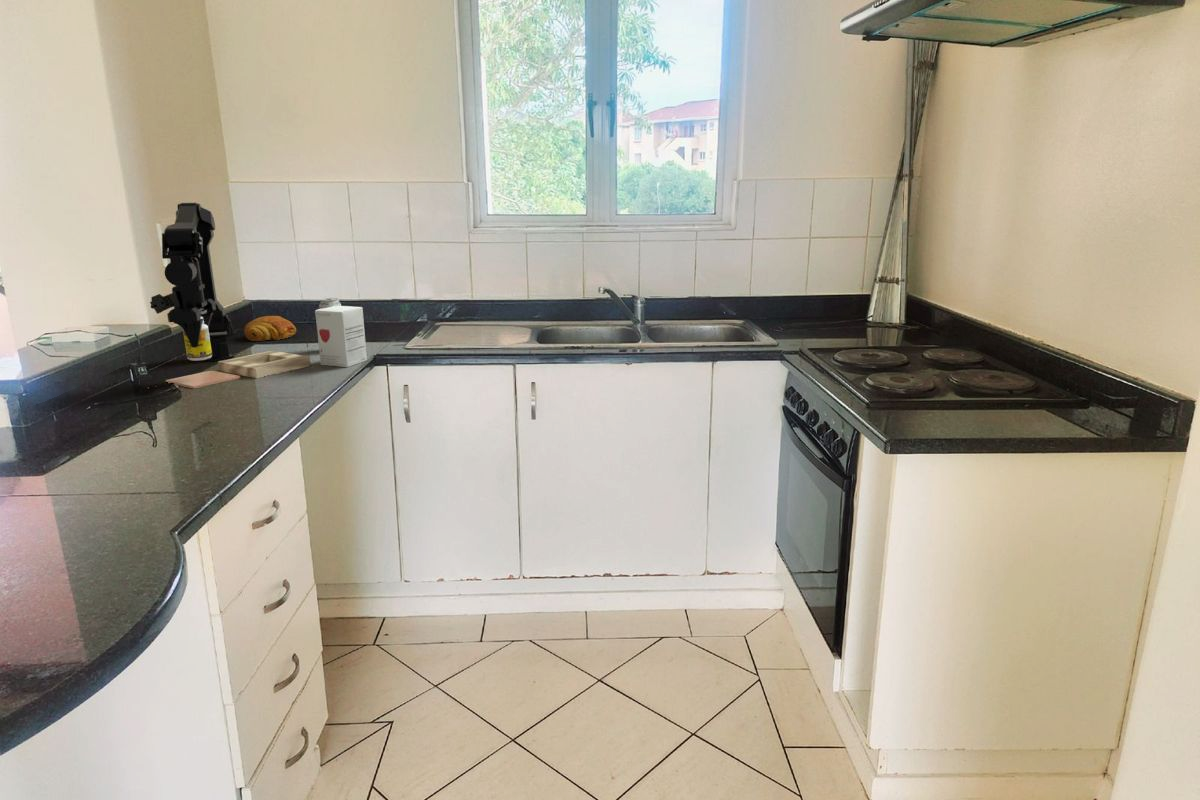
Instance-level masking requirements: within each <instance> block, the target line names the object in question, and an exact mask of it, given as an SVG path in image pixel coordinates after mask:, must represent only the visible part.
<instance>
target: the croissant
mask: <svg viewBox="0 0 1200 800" xmlns="http://www.w3.org/2000/svg"><path fill="white" fill-rule="evenodd" d="M243 330H244V335H245V337H246V339H248V340H249V341H252V342H261V341H262V342H266V341H265V340H277V341H281V340H280V339H283V340H286V339H285V338H287V339H289V338H288V337H291V336H292V337H294V336H295V334H296V333H297V328H296V326H295V325H294V324H293V323H292V322H291V321H290V320H288V319H286V318H284V317H282V316H280V315H266V316H265V315H263V316H260V317H258V318H255V319H253V320H251V321H249V322H247V324H246V325H245V326H244V328H243ZM293 335H294V336H293ZM292 337H291V338H292Z"/></svg>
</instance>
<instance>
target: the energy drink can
mask: <svg viewBox="0 0 1200 800" xmlns="http://www.w3.org/2000/svg"><path fill="white" fill-rule="evenodd" d="M332 306H342V304H341V302H340V300H339V298H337V297H327V298H326V297H325V298H321V299H320V302H319V305H318V309H323V308H328V307H332Z"/></svg>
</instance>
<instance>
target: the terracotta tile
mask: <svg viewBox="0 0 1200 800" xmlns="http://www.w3.org/2000/svg"><path fill="white" fill-rule="evenodd" d="M237 379H241V375H237V374H232V373H227V372H222V371H217V370H214V369H213V370H207V371H202V372H198V373H193V374H189V375H183V376H180V377H174V378H170V379H165V383H166V382H168V383H167V384H170V383H174V384H173V385H175V384H176V386H179V387H180V386H181V387H184V388H185V387H186V388H190V389H199V388H203V387H208V386H213V385H215V384H216V385H217V384H222V383H226V382H228V381H235V380H237Z"/></svg>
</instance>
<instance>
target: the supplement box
mask: <svg viewBox="0 0 1200 800" xmlns="http://www.w3.org/2000/svg"><path fill="white" fill-rule="evenodd" d="M363 309H364V307H362V306H349V305H341V306H332V307H328V308H323V309H319V308H318V309H315V310H314V315H315V322H316V331H317V341H318V349H319V350H318V351H319V352H318V353H319V360H320V365H321V366H329V367H331V366H332V367H343V368H350V367H352V366H356V365H358V364H361V363H364V362H366V361H368V357H367V345H366V334H365V323H364V321H365V320H364V311H363Z"/></svg>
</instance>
